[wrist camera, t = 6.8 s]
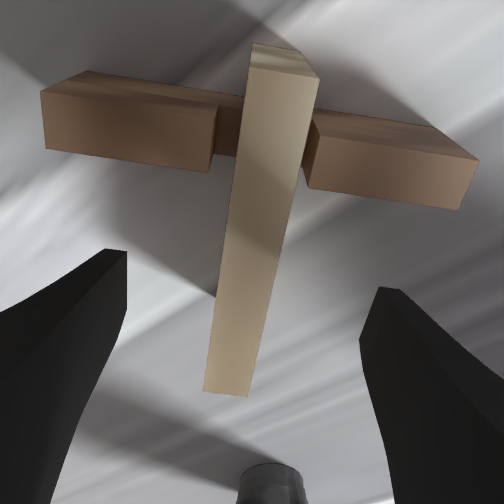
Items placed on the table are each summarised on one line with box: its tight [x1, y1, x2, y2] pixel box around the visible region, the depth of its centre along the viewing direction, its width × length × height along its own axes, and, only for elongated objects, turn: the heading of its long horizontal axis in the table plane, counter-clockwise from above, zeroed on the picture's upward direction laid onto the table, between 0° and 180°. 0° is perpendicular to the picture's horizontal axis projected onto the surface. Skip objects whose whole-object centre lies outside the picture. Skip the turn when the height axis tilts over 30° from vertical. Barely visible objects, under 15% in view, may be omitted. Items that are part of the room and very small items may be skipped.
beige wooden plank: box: [203, 43, 320, 397], centre depth 16 cm, size 2×12×6 cm, turn 171°
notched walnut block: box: [40, 71, 479, 210], centre depth 16 cm, size 14×2×4 cm, turn 81°
